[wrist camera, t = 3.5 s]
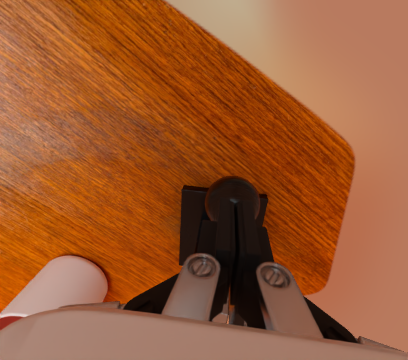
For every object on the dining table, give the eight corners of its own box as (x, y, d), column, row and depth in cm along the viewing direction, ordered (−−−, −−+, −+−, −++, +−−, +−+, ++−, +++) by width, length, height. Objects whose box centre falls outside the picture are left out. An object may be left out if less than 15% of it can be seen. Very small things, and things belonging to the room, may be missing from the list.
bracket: (183, 184, 28) (151, 264, 16) (266, 194, 27) (293, 283, 16) (180, 259, 33) (154, 359, 22) (250, 268, 33) (261, 376, 21)
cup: (120, 294, 38) (86, 364, 29) (68, 299, 40) (21, 366, 31) (94, 247, 34) (45, 311, 25) (38, 255, 36) (-27, 317, 27)
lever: (209, 162, 14) (203, 195, 11) (262, 168, 14) (268, 203, 11) (198, 295, 23) (193, 331, 20) (231, 299, 22) (230, 336, 20)
